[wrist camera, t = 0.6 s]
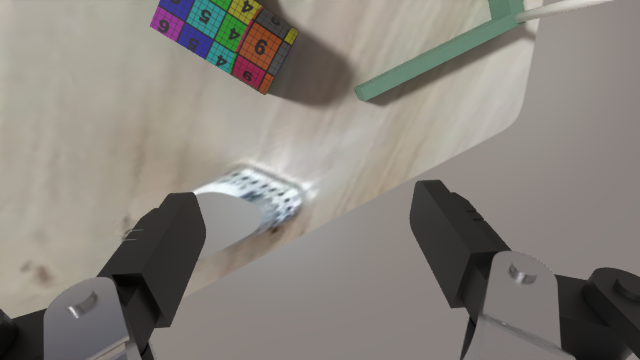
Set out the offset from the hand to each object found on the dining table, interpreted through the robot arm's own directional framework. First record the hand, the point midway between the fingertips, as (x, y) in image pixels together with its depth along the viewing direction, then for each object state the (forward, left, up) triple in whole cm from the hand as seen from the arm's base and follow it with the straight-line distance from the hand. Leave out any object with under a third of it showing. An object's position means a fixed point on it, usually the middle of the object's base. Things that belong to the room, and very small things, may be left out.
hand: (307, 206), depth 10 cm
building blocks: (-13, -1, -26) cm, 29 cm away
